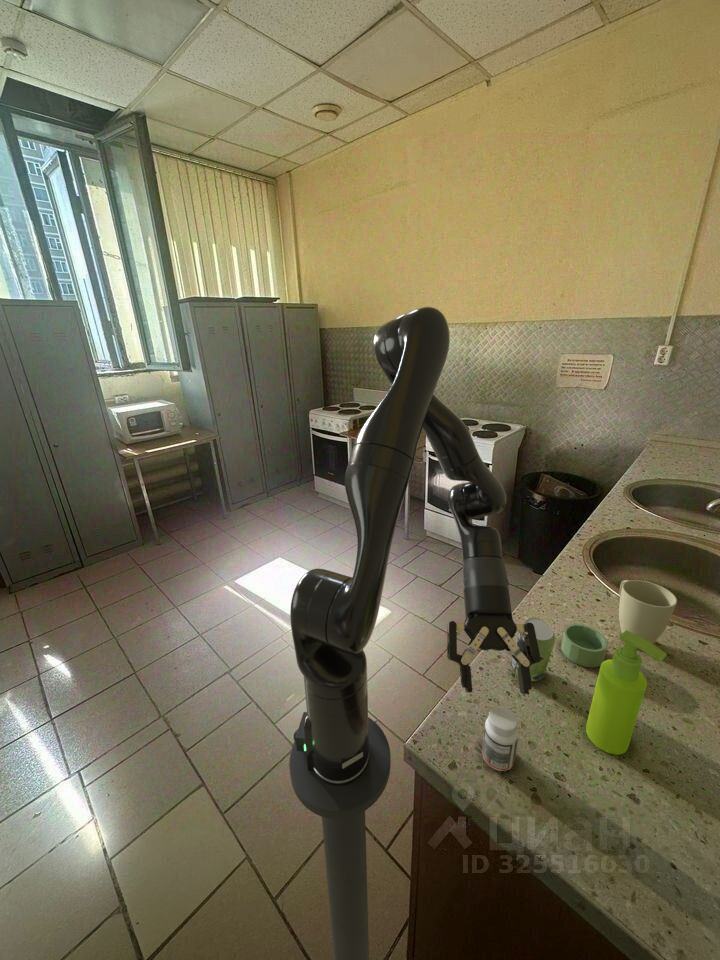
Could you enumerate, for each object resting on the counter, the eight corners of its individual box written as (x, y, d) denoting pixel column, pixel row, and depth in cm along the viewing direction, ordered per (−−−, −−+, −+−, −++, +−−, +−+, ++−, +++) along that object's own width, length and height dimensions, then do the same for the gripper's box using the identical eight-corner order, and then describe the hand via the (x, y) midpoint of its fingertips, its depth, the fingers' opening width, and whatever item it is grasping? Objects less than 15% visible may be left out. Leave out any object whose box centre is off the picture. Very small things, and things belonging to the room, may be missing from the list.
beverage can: (532, 657, 79) (540, 608, 75) (555, 687, 72) (565, 635, 68) (503, 661, 78) (509, 612, 74) (523, 692, 71) (532, 640, 67)
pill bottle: (496, 736, 64) (501, 697, 61) (520, 761, 60) (527, 721, 57) (475, 751, 61) (479, 712, 59) (499, 778, 58) (505, 738, 55)
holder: (568, 665, 77) (571, 649, 76) (556, 637, 84) (559, 622, 83) (610, 669, 76) (614, 653, 74) (594, 641, 83) (598, 625, 81)
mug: (671, 642, 82) (686, 594, 78) (651, 664, 77) (666, 613, 73) (615, 614, 91) (626, 569, 86) (593, 632, 85) (603, 585, 81)
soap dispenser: (623, 768, 59) (654, 664, 52) (578, 731, 64) (601, 633, 57) (642, 747, 62) (675, 646, 55) (598, 713, 67) (622, 618, 60)
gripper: (520, 591, 71) (535, 692, 64) (441, 589, 72) (447, 689, 65) (535, 583, 64) (552, 696, 58) (447, 582, 65) (454, 693, 58)
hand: (496, 692), depth 61 cm, fingers open, 8 cm apart
